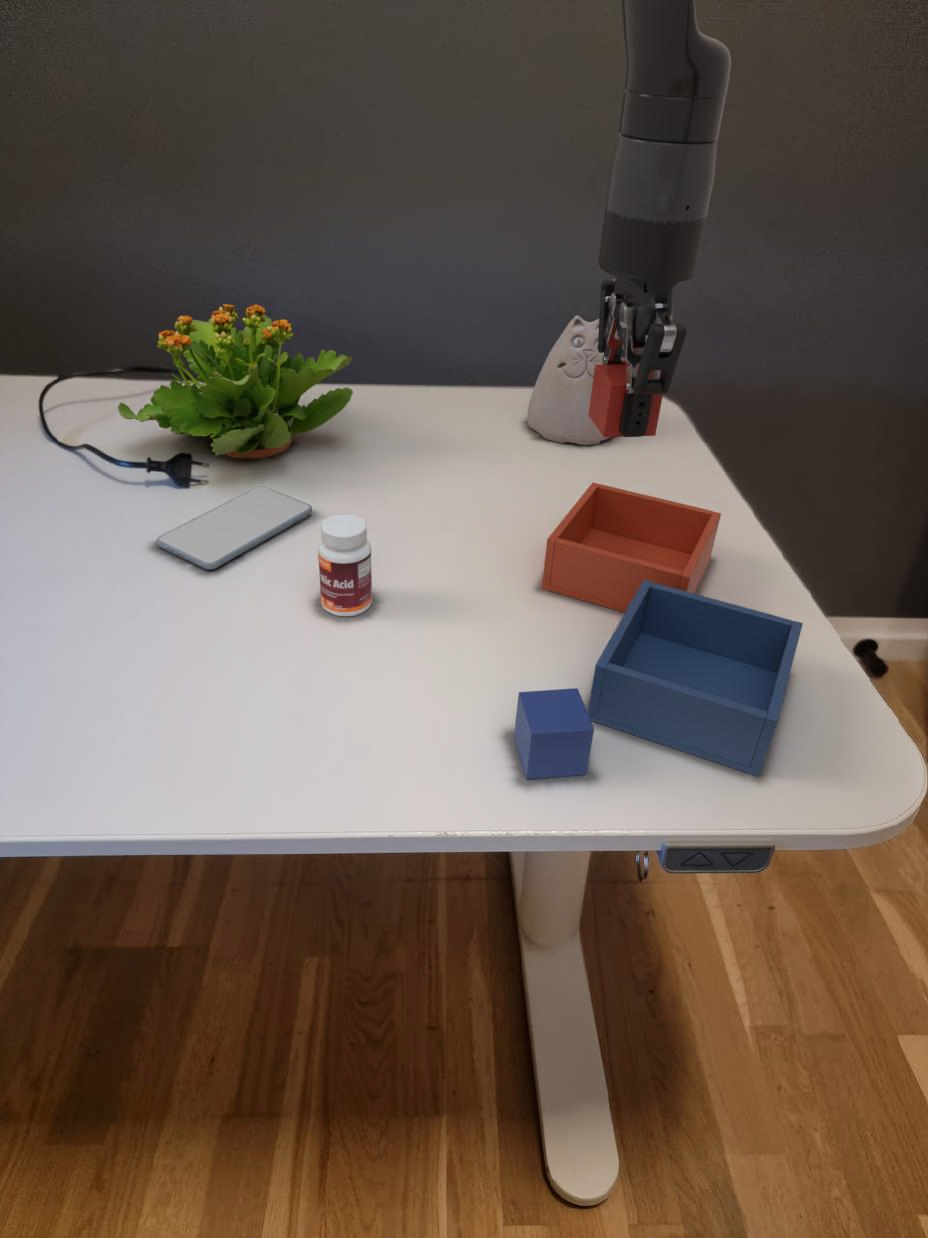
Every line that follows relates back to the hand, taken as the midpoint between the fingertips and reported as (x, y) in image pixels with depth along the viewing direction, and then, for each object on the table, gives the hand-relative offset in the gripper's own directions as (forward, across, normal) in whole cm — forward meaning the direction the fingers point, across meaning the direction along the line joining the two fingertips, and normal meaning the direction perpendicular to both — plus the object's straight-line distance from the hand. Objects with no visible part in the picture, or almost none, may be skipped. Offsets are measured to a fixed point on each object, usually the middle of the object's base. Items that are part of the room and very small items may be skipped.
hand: (622, 421), depth 74 cm
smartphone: (+18, +15, +35) cm, 42 cm away
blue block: (+17, -22, +10) cm, 29 cm away
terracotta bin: (+18, +3, -4) cm, 18 cm away
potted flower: (+18, +37, +33) cm, 53 cm away
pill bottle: (+18, 0, +24) cm, 30 cm away
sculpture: (+18, +39, -9) cm, 43 cm away
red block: (0, 0, 0) cm, 0 cm away
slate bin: (+17, -16, -3) cm, 24 cm away
